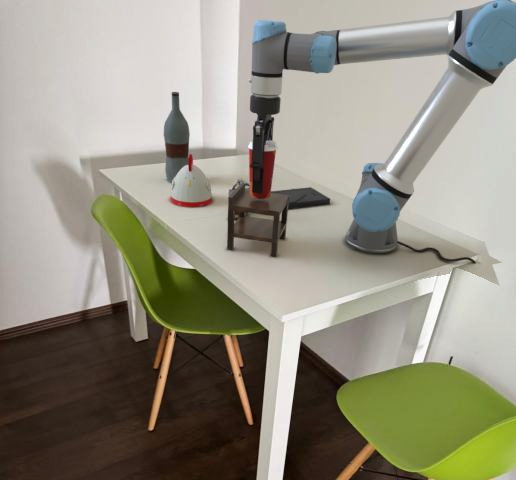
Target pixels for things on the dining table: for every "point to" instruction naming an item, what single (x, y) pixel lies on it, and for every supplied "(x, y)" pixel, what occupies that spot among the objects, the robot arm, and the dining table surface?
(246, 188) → the food container
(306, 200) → the picture frame
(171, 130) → the bottle
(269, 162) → the paper cup
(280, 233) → the rack
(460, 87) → the robot arm
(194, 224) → the dining table surface
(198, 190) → the kitchen timer
